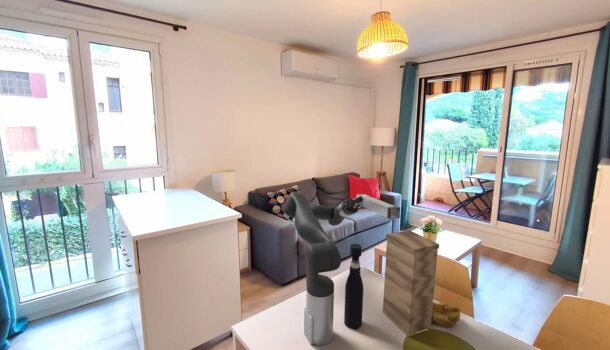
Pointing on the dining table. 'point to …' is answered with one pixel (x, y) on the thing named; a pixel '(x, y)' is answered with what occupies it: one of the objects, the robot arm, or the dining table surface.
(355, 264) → the wine bottle
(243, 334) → the dining table surface
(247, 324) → the dining table surface
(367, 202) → the aluminium bar
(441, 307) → the bread roll
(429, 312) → the walnut stand
